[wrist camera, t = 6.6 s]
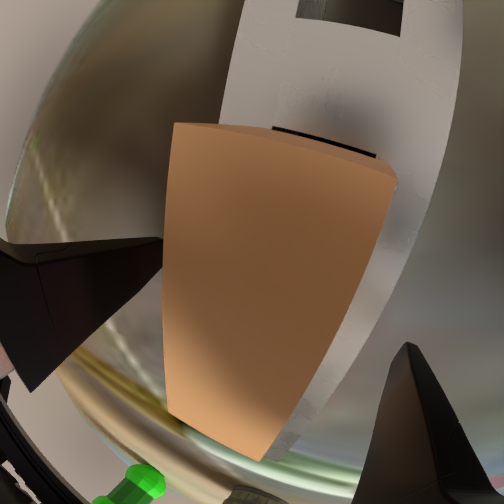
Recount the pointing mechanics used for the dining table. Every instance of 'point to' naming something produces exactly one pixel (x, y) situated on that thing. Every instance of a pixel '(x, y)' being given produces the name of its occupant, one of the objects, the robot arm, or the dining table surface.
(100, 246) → the robot arm
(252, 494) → the thermos
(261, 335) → the tapered peach wedge
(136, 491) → the plastic bottle
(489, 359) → the dining table surface
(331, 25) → the rail
